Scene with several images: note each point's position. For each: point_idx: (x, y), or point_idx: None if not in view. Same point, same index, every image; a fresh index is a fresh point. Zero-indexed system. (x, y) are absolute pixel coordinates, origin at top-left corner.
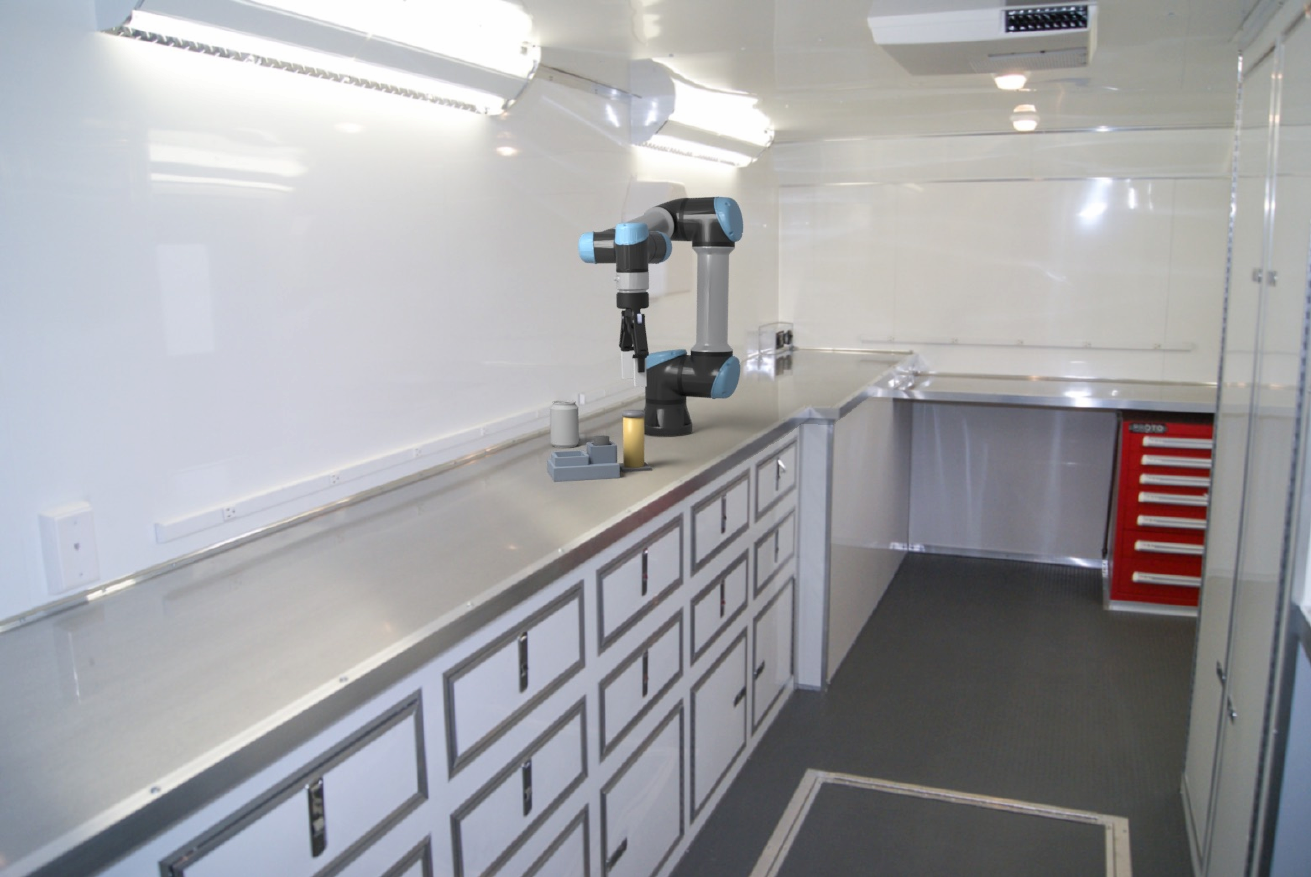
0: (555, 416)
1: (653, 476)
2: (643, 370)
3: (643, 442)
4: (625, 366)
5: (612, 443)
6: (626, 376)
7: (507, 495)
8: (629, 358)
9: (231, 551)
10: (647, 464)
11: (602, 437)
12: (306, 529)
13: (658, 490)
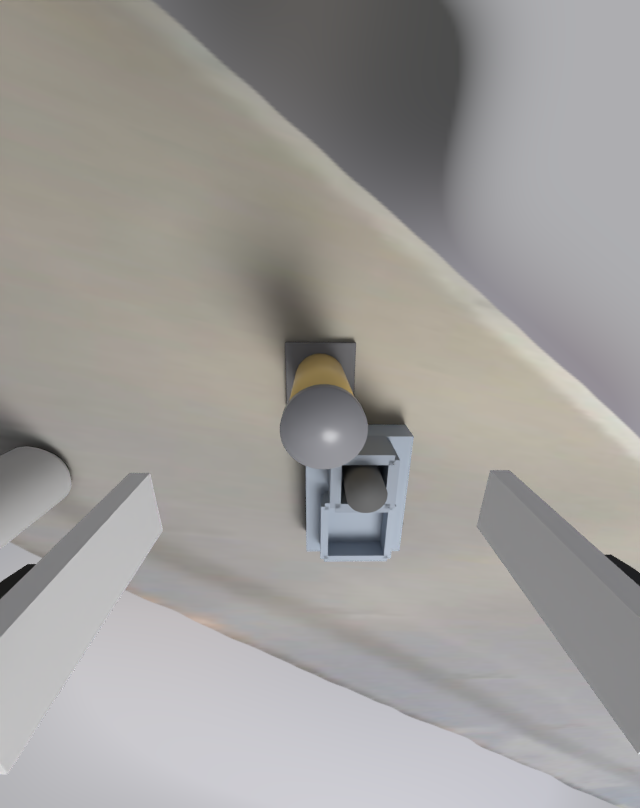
0: (2, 546)
1: (417, 354)
2: (631, 577)
3: (339, 371)
4: (111, 584)
5: (366, 460)
6: (149, 520)
7: (458, 595)
8: (47, 627)
9: (560, 777)
10: (316, 344)
11: (374, 495)
12: (516, 746)
13: (543, 376)
